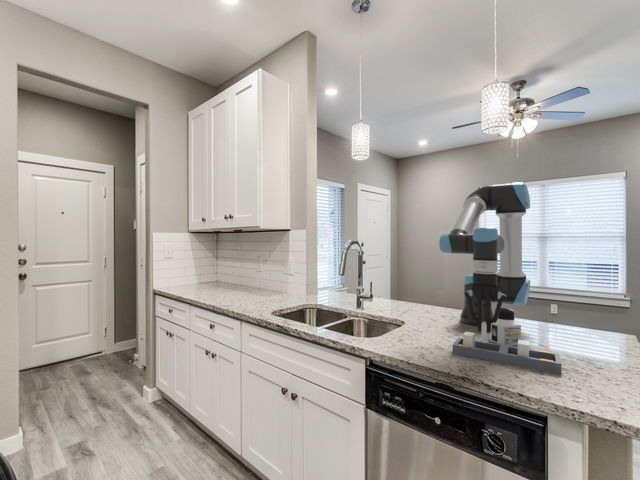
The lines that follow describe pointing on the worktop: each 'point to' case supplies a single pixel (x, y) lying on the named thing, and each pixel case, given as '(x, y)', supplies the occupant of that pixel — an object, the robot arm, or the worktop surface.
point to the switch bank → (510, 355)
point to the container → (505, 329)
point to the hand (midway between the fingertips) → (484, 341)
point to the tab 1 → (469, 339)
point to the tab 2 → (523, 348)
